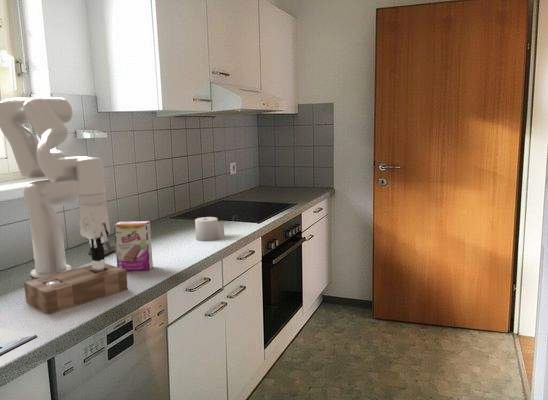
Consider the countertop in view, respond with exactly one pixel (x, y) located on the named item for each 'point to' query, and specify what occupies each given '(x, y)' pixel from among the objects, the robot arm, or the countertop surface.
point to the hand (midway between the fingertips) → (98, 259)
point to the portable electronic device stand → (110, 249)
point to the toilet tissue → (208, 229)
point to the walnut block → (74, 287)
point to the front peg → (52, 282)
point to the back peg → (98, 266)
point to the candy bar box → (133, 245)
